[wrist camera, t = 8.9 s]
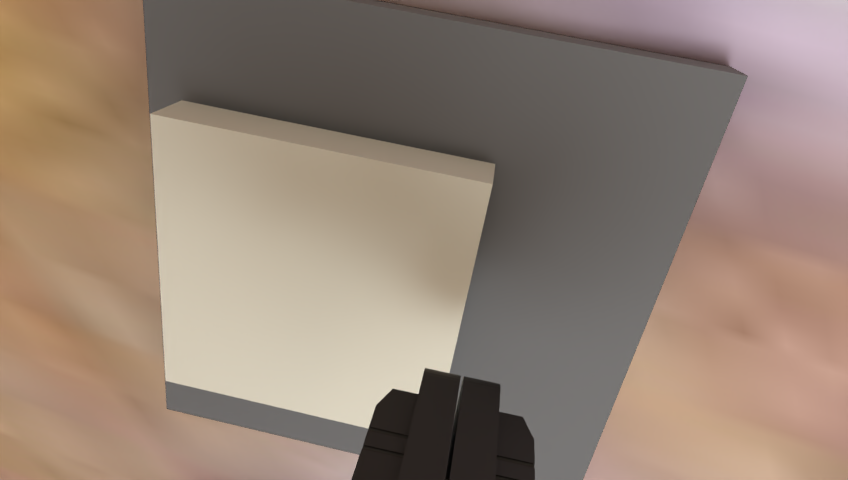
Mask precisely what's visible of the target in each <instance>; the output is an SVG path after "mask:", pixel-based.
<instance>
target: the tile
mask: <svg viewBox="0 0 848 480" xmlns="http://www.w3.org/2000/svg"><path fill="white" fill-rule="evenodd" d="M150 122H151V139H152V156H153V173H154V190H155V208H156V225H157V242H158V259H159V276H160V294H161V311H162V328H163V345H164V362H165V380H166V381H168V382H173V383H177V384H181V385H185V386H190V387H194V388H198V389H202V390H207V391H211V392H215V393H219V394H224V395H228V396H232V397H236V398H240V399H245V400H249V401H253V402H257V403H262V404H266V405H270V406H274V407H279V408H283V409H287V410H291V411H296V412H300V413H304V414H308V415H313V416H317V417H321V418H325V419H330V420H334V421H338V422H342V423H347V424H351V425H355V426H359V427H364V428H368V429H369V425H370V422H371V419H372V416H373V413H374V410H375V407H376V405H377V404H378V403H379V402H380V401H381V400H382V399H383V398H384V397H385V396H386V395H387V394H388V393H389V392H390V391H391V390H392V389H397V390H402V391H407V392H411V393H416V394H419V390H420V385H421V381H422V377H423V373H424V369H425V368H428V369H433V370H437V371H442V372H447V373H450V369H451V364H452V360H453V355H454V351H455V347H456V342H457V338H458V334H459V329H460V325H461V321H462V316H463V312H464V308H465V303H466V299H467V294H468V290H469V286H470V281H471V277H472V273H473V268H474V264H475V260H476V255H477V251H478V246H479V242H480V238H481V233H482V229H483V225H484V220H485V216H486V212H487V207H488V203H489V199H490V194H491V190H492V185H493V179H494V171H495V164H493V163H488V162H483V161H478V160H473V159H468V158H463V157H459V156H454V155H449V154H444V153H439V152H434V151H429V150H424V149H419V148H414V147H409V146H404V145H399V144H395V143H390V142H385V141H380V140H375V139H370V138H365V137H360V136H355V135H350V134H345V133H340V132H335V131H331V130H326V129H321V128H316V127H311V126H306V125H301V124H296V123H291V122H286V121H281V120H276V119H271V118H266V117H262V116H257V115H252V114H247V113H242V112H237V111H232V110H227V109H222V108H217V107H212V106H207V105H202V104H198V103H193V102H188V101H183V100H181V101H179V102H177V103H174V104H172V105H169V106H167V107H165V108H162V109H160V110H158V111H155V112H153V113H151V114H150Z"/></svg>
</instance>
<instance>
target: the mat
mask: <svg viewBox="0 0 848 480" xmlns="http://www.w3.org/2000/svg"><path fill="white" fill-rule="evenodd" d="M143 9H144V26H145V43H146V60H147V78H148V95H149V112H150V114H151V113H153V112H155V111H158V110H160V109H162V108H165V107H167V106H169V105H172V104H174V103H177V102H179V101H181V100H183V101H188V102H193V103H198V104H202V105H207V106H212V107H217V108H222V109H227V110H232V111H237V112H242V113H247V114H252V115H257V116H262V117H266V118H271V119H276V120H281V121H286V122H291V123H296V124H301V125H306V126H311V127H316V128H321V129H326V130H331V131H335V132H340V133H345V134H350V135H355V136H360V137H365V138H370V139H375V140H380V141H385V142H390V143H395V144H399V145H404V146H409V147H414V148H419V149H424V150H429V151H434V152H439V153H444V154H449V155H454V156H459V157H463V158H468V159H473V160H478V161H483V162H488V163H493V164H495V171H494V179H493V185H492V190H491V194H490V199H489V203H488V207H487V212H486V216H485V220H484V225H483V229H482V233H481V238H480V242H479V246H478V251H477V255H476V260H475V264H474V268H473V273H472V277H471V281H470V286H469V290H468V294H467V299H466V303H465V308H464V312H463V316H462V321H461V325H460V329H459V334H458V338H457V342H456V347H455V351H454V355H453V360H452V364H451V369H450V373H451V374H456V375H461V378H460V385H459V391H458V398H459V394H460V389H461V385H462V381H463V377H464V376H466V377H471V378H475V379H480V380H485V381H489V382H494V383H498V384H500V387H501V388H500V407H499V412H503V413H508V414H512V415H517V416H521V417H523V418H524V420H525V422H526V424H527V426H528V428H529V430H530V432H531V434H532V436H533V438H534V450H535V465H534V468H535V480H583V478H584V476H585V473H586V471H587V469H588V466H589V464H590V461H591V459H592V456H593V454H594V451H595V449H596V446H597V444H598V442H599V439H600V437H601V434H602V432H603V429H604V427H605V424H606V422H607V420H608V417H609V415H610V412H611V410H612V407H613V405H614V402H615V400H616V398H617V395H618V393H619V390H620V388H621V385H622V383H623V380H624V378H625V375H626V373H627V371H628V368H629V366H630V363H631V361H632V358H633V356H634V353H635V351H636V349H637V346H638V344H639V341H640V339H641V336H642V334H643V331H644V329H645V326H646V324H647V322H648V319H649V317H650V314H651V312H652V309H653V307H654V304H655V302H656V300H657V297H658V295H659V292H660V290H661V287H662V285H663V282H664V280H665V278H666V275H667V273H668V270H669V268H670V265H671V263H672V260H673V258H674V255H675V253H676V251H677V248H678V246H679V243H680V241H681V238H682V236H683V233H684V231H685V229H686V226H687V224H688V221H689V219H690V216H691V214H692V211H693V209H694V207H695V204H696V202H697V199H698V197H699V194H700V192H701V189H702V187H703V184H704V182H705V180H706V177H707V175H708V172H709V170H710V167H711V165H712V162H713V160H714V158H715V155H716V153H717V150H718V148H719V145H720V143H721V140H722V138H723V136H724V133H725V131H726V128H727V126H728V123H729V121H730V118H731V116H732V113H733V111H734V109H735V106H736V104H737V101H738V99H739V96H740V94H741V91H742V89H743V87H744V84H745V82H746V79H747V77H748V76H747V75H745V74H743V73H741V72H739V71H738V70H736V69H734V68H732V67H730V66H724V65H719V64H714V63H708V62H703V61H698V60H692V59H687V58H682V57H676V56H671V55H666V54H660V53H655V52H650V51H644V50H639V49H634V48H628V47H623V46H618V45H612V44H607V43H602V42H596V41H591V40H586V39H580V38H575V37H570V36H564V35H559V34H554V33H548V32H543V31H538V30H532V29H527V28H522V27H516V26H511V25H506V24H500V23H495V22H490V21H484V20H479V19H474V18H468V17H463V16H458V15H452V14H447V13H442V12H436V11H431V10H426V9H420V8H415V7H410V6H404V5H399V4H393V3H388V2H383V1H377V0H143ZM150 129H151V122H150ZM151 146H152V139H151ZM152 163H153V156H152ZM153 180H154V173H153ZM154 197H155V190H154ZM155 214H156V208H155ZM156 231H157V225H156ZM157 249H158V242H157ZM158 266H159V259H158ZM159 283H160V276H159ZM160 300H161V294H160ZM161 317H162V311H161ZM162 334H163V328H162ZM163 351H164V345H163ZM164 368H165V362H164ZM165 385H166V402H167V409H170V410H174V411H178V412H182V413H187V414H191V415H195V416H199V417H203V418H208V419H212V420H216V421H220V422H224V423H228V424H233V425H237V426H241V427H245V428H249V429H254V430H258V431H262V432H266V433H270V434H275V435H279V436H283V437H287V438H291V439H296V440H300V441H304V442H308V443H312V444H316V445H321V446H325V447H329V448H333V449H337V450H342V451H346V452H350V453H354V454H358V455H360V453H361V450H362V448H363V444H364V440H365V437H366V434H367V431H368V428H364V427H359V426H355V425H351V424H347V423H342V422H338V421H334V420H330V419H325V418H321V417H317V416H313V415H308V414H304V413H300V412H296V411H291V410H287V409H283V408H279V407H274V406H270V405H266V404H262V403H257V402H253V401H249V400H245V399H240V398H236V397H232V396H228V395H224V394H219V393H215V392H211V391H207V390H202V389H198V388H194V387H190V386H185V385H181V384H177V383H173V382H168V381H166V380H165ZM458 398H457V403H458ZM456 407H457V405H456ZM455 412H456V411H455Z"/></svg>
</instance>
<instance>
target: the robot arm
mask: <svg viewBox="0 0 848 480" xmlns="http://www.w3.org/2000/svg"><path fill="white" fill-rule="evenodd" d="M460 378H461V375H456V374H451V373H447V372H442V371H437V370H433V369H428V368H425V369H424V373H423V377H422V381H421V385H420V390H419V394H416V393H411V392H407V391H402V390H397V389H392V390H391V391H390V392H389V393H388V394H387V395H386V396H385V397H384V398H383V399H382V400H381V401H380V402H379V403H378V404H377V405H376V407H375V410H374V413H373V416H372V419H371V422H370V425H369V429H368V431H367V434H366V437H365V440H364V444H363V448H362V450H361V453H360V456H359V459H358V462H357V465H356V468H355V471H354V474H353V477H352V480H535V468H534V465H535V450H534V438H533V436H532V434H531V432H530V430H529V428H528V426H527V424H526V422H525V420H524V418H523V417H521V416H517V415H512V414H508V413H503V412H499V407H500V388H501V387H500V384H498V383H494V382H489V381H485V380H480V379H475V378H471V377H466V376H464V377H463V381H462V385H461V389H460V394H459V398H458V391H459V385H460ZM457 398H458V403H457ZM456 405H457V407H456ZM455 411H456V412H455Z"/></svg>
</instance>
